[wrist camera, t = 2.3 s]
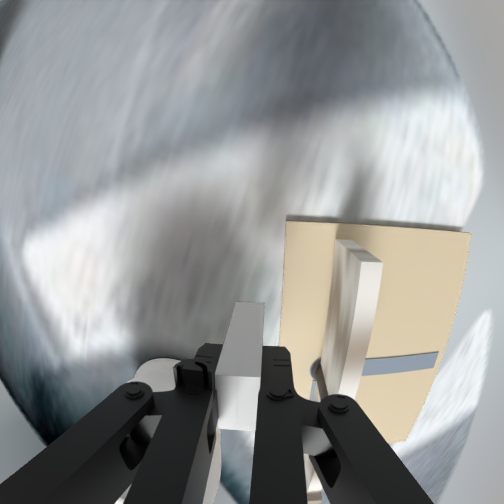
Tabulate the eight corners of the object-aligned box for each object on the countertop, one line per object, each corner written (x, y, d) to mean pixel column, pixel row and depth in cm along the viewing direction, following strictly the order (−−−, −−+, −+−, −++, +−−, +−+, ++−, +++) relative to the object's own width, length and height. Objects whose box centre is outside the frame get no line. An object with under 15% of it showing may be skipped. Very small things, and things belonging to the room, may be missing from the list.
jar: (115, 392, 25) (48, 496, 10) (147, 324, 23) (46, 453, 8) (204, 440, 26) (174, 557, 11) (254, 384, 23) (240, 541, 9)
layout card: (285, 220, 20) (286, 221, 20) (468, 232, 19) (471, 233, 19) (269, 450, 26) (269, 453, 25) (404, 438, 25) (406, 440, 24)
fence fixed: (312, 357, 22) (325, 419, 15) (341, 357, 22) (362, 416, 15) (294, 455, 25) (297, 508, 18) (316, 454, 25) (322, 506, 18)
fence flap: (331, 239, 19) (360, 266, 13) (355, 239, 19) (394, 266, 13) (313, 381, 22) (324, 440, 15) (334, 380, 22) (350, 438, 15)
